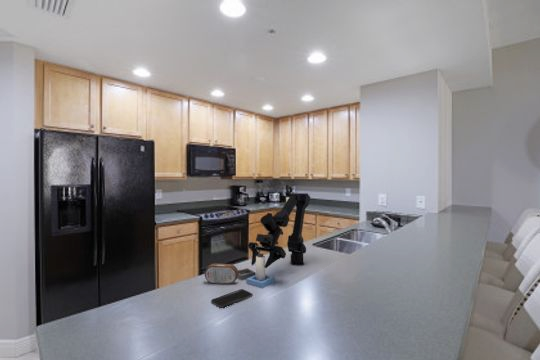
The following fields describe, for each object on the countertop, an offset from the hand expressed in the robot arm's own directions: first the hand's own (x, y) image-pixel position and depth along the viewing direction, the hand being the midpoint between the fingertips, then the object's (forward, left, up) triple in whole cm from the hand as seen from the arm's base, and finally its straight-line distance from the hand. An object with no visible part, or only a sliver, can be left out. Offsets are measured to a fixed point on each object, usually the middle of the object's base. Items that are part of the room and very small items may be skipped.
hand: (258, 266), depth 115 cm
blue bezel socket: (-1, -1, -8) cm, 8 cm away
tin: (+17, 0, -8) cm, 19 cm away
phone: (+9, +15, -8) cm, 20 cm away
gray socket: (+8, -9, -8) cm, 14 cm away
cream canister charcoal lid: (-1, -1, -8) cm, 8 cm away
